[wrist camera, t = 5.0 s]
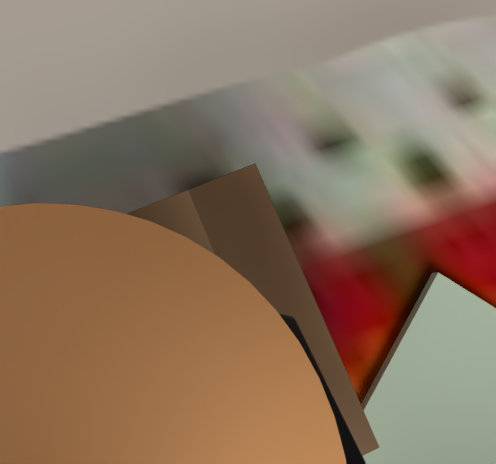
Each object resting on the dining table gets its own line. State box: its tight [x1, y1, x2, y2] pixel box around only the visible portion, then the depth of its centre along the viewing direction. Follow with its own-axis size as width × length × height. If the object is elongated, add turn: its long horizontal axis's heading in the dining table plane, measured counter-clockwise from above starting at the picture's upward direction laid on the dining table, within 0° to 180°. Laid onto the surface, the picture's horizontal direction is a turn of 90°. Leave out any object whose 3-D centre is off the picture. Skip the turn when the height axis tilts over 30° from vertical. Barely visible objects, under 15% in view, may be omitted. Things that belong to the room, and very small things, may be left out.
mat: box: [361, 272, 496, 464], centre depth 17 cm, size 9×9×1 cm
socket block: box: [128, 164, 380, 456], centre depth 15 cm, size 9×9×4 cm
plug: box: [0, 203, 346, 464], centre depth 10 cm, size 4×4×14 cm
